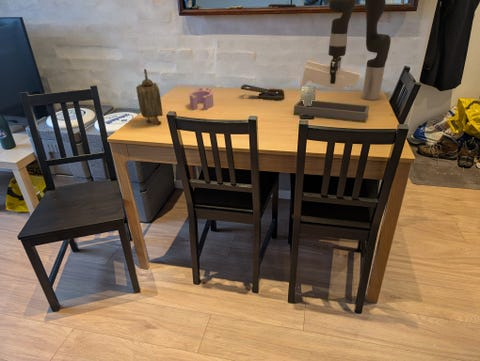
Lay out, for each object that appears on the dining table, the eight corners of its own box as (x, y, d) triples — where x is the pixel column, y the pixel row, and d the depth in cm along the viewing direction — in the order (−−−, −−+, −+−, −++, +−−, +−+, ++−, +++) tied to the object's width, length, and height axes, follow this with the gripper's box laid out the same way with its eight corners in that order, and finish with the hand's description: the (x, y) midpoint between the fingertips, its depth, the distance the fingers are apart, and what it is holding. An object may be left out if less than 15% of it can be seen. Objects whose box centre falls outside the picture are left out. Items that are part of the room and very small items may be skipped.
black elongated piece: (243, 83, 205) (285, 85, 198) (243, 94, 208) (285, 97, 202) (239, 87, 197) (283, 89, 191) (239, 99, 201) (282, 101, 194)
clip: (194, 99, 202) (193, 87, 199) (216, 99, 201) (215, 87, 198) (188, 110, 185) (187, 97, 181) (211, 110, 184) (210, 97, 181)
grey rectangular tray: (300, 107, 183) (300, 99, 181) (367, 114, 171) (369, 105, 169) (293, 114, 174) (294, 105, 172) (364, 122, 161) (366, 113, 159)
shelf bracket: (301, 85, 173) (308, 59, 166) (351, 98, 168) (360, 73, 161) (299, 88, 168) (306, 61, 162) (350, 102, 164) (360, 75, 157)
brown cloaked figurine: (164, 125, 165) (156, 71, 153) (145, 128, 163) (135, 73, 150) (159, 116, 177) (152, 65, 165) (141, 118, 174) (132, 67, 162)
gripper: (343, 46, 149) (339, 86, 158) (349, 42, 161) (344, 79, 169) (326, 46, 152) (322, 85, 160) (332, 41, 163) (329, 78, 172)
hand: (333, 82), depth 165 cm, fingers closed on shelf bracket, 5 cm apart
